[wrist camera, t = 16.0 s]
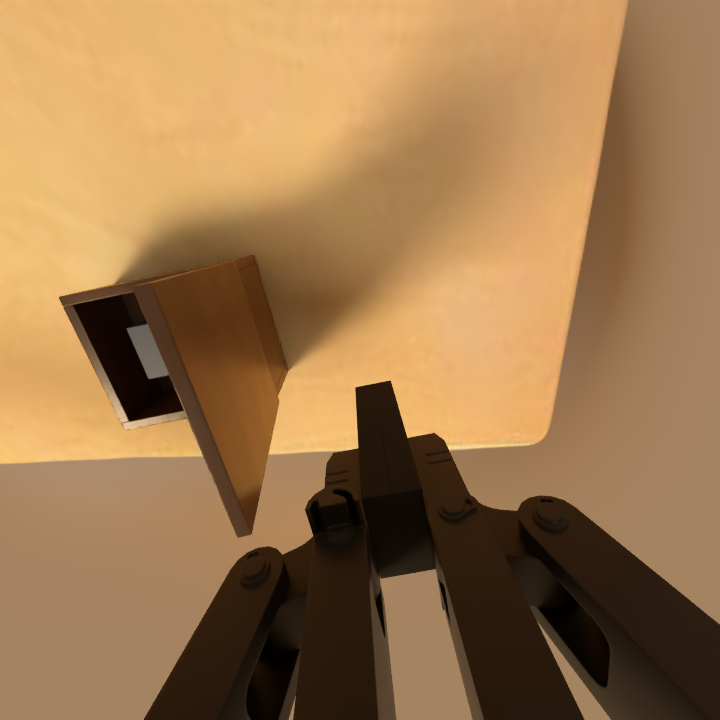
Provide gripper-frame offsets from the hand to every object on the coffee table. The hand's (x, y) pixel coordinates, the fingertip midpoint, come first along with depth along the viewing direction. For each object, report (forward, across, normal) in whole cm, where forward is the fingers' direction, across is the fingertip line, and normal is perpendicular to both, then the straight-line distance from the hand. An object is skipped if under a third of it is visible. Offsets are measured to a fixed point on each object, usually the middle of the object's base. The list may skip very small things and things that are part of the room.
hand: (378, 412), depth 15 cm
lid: (+10, -10, 0) cm, 14 cm away
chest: (+26, -18, 0) cm, 32 cm away
